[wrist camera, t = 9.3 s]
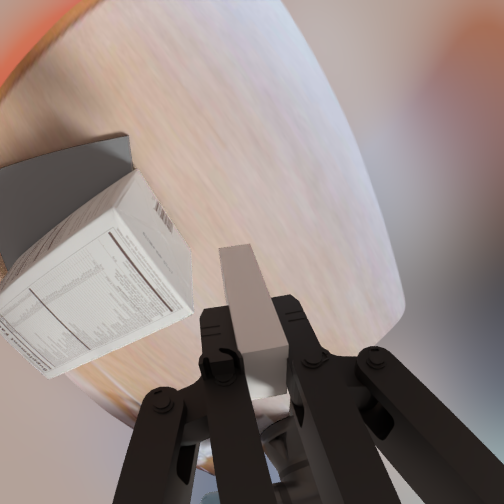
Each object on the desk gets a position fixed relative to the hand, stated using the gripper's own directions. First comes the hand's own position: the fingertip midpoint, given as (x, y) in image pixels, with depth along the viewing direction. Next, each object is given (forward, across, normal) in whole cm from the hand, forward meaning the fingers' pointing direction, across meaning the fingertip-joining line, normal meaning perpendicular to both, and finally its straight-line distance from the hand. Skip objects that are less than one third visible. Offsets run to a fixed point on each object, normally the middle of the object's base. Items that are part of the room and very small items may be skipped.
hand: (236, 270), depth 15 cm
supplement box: (+8, +4, +1) cm, 9 cm away
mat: (+13, +15, 0) cm, 20 cm away
